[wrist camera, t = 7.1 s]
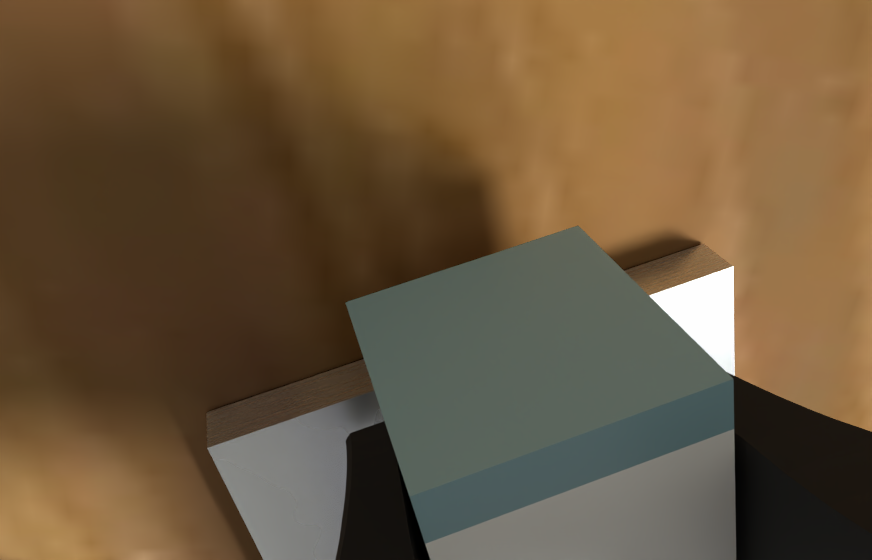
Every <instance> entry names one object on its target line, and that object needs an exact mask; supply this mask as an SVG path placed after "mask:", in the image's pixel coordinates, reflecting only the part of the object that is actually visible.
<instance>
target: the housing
mask: <svg viewBox="0 0 872 560" xmlns="http://www.w3.org/2000/svg"><path fill="white" fill-rule="evenodd" d="M625 272H626V273H627V274H628V275H629V276H630V277H631V278H632V279H633V280H634V281H635V282H636V283H637V284H638V285H639V286H640V287H641V288H642V289H643V290H644V291H645V292H646V293H647V294H648V295H649V296H650V297H651V298H652V299H653V300H654V301H655V302H656V303H657V304H658V305H659V306H660V307H661V308H662V309H663V310H664V311H665V312H666V313H667V314H668V315H669V316H670V317H671V318H672V319H673V320H674V321H675V322H676V323H677V324H678V325H679V326H680V327H681V328H682V329H683V330H684V331H685V332H686V333H687V334H688V335H689V336H690V337H692V338H693V339H694V340H695V341H696V342H697V343H698V344H699V345H700V346H701V347H702V348H703V349H704V350H705V351H706V352H707V353H708V354H709V355H710V356H711V357H712V358H713V359H714V360H715V361H716V362H717V363H718V364H719V365H720V366H721V367H722V368H723V369H724V370H725V371H726V372H728V373H730V374H732V375H734V376H735V362H734V293H733V266H732V265H730V264H729V263H728V262H726V261H725V260H724V259H723V258H721V257H720V256H719V255H717V254H716V253H715V252H714V251H712V250H711V249H710V248H709V247H707V246H706V245H705V244H701V245H698V246H695V247H692V248H689V249H687V250H684V251H681V252H678V253H675V254H672V255H669V256H666V257H663V258H660V259H657V260H654V261H651V262H648V263H645V264H642V265H639V266H636V267H633V268H631V269H628V270H625ZM206 413H207V449H208V451H209V453H210V455H211V457H212V459H213V461H214V463H215V465H216V467H217V469H218V471H219V473H220V474H221V476H222V478H223V480H224V482H225V484H226V486H227V488H228V490H229V492H230V494H231V496H232V498H233V500H234V502H235V504H236V506H237V508H238V510H239V512H240V514H241V516H242V518H243V520H244V522H245V524H246V526H247V528H248V530H249V532H250V534H251V536H252V538H253V540H254V542H255V544H256V546H257V548H258V550H259V552H260V554H261V556H262V558H263V560H335V559H336V554H337V549H338V544H339V538H340V531H341V524H342V516H343V509H344V501H345V490H346V476H347V450H346V439H347V437H348V436H349V434H350V433H352V432H355V431H357V430H360V429H363V428H366V427H369V426H372V425H375V424H377V423H380V422H383V421H384V418H383V415H382V412H381V409H380V406H379V403H378V400H377V397H376V394H375V391H374V388H373V385H372V382H371V379H370V376H369V373H368V370H367V367H366V364H365V361H364V359H362V360H360V361H357V362H354V363H351V364H348V365H345V366H342V367H339V368H336V369H333V370H330V371H327V372H324V373H321V374H318V375H315V376H312V377H309V378H306V379H304V380H301V381H298V382H295V383H292V384H289V385H286V386H283V387H280V388H277V389H274V390H271V391H268V392H265V393H262V394H259V395H256V396H253V397H251V398H248V399H245V400H242V401H239V402H236V403H233V404H230V405H227V406H224V407H221V408H218V409H215V410H212V411H209V412H206Z"/></svg>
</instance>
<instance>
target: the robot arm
mask: <svg viewBox="0 0 872 560" xmlns="http://www.w3.org/2000/svg"><path fill="white" fill-rule="evenodd" d="M727 373H728V372H727ZM728 374H729V375H730V376H731V377H732V378H733V381H734V444H735V508H736V560H872V432H870V431H867V430H865V429H862V428H859V427H856V426H853V425H850V424H847V423H844V422H841V421H838V420H836V419H833V418H830V417H828V416H825V415H822V414H820V413H817V412H815V411H812V410H810V409H807V408H805V407H803V406H800V405H798V404H795V403H793V402H791V401H788V400H786V399H784V398H781V397H779V396H776V395H774V394H772V393H770V392H768V391H765V390H763V389H761V388H759V387H757V386H755V385H752V384H750V383H748V382H746V381H744V380H742V379H740V378H738V377H736V376H734V375H732V374H730V373H728ZM346 450H347V476H346V490H345V501H344V509H343V516H342V524H341V531H340V538H339V544H338V549H337V554H336V559H335V560H430V557H429V554H428V551H427V548H426V545H425V542H424V539H423V536H422V533H421V530H420V527H419V524H418V521H417V518H416V515H415V512H414V509H413V506H412V503H411V500H410V497H409V494H408V491H407V488H406V485H405V482H404V479H403V476H402V473H401V470H400V467H399V464H398V461H397V457H396V454H395V451H394V448H393V445H392V442H391V439H390V436H389V433H388V430H387V427H386V424H385V421H383V422H380V423H377V424H375V425H372V426H369V427H366V428H363V429H360V430H357V431H355V432H352V433H350V434H349V436H348V437H347V439H346Z"/></svg>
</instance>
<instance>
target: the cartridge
mask: <svg viewBox="0 0 872 560" xmlns="http://www.w3.org/2000/svg"><path fill="white" fill-rule="evenodd" d="M345 303H346V306H347V309H348V312H349V315H350V318H351V321H352V324H353V327H354V330H355V333H356V336H357V339H358V342H359V345H360V348H361V352H362V355H363V358H364V361H365V364H366V367H367V370H368V373H369V376H370V379H371V382H372V385H373V388H374V391H375V394H376V397H377V400H378V403H379V406H380V409H381V412H382V415H383V418H384V421H385V424H386V427H387V430H388V433H389V436H390V439H391V442H392V445H393V448H394V451H395V454H396V457H397V461H398V464H399V467H400V470H401V473H402V476H403V479H404V482H405V485H406V488H407V491H408V494H409V497H410V500H411V503H412V506H413V509H414V512H415V515H416V518H417V521H418V524H419V527H420V530H421V533H422V536H423V539H424V542H425V545H426V548H427V551H428V554H429V557H430V560H736V508H735V444H734V381H733V378H732V377H731V376H730V375H729V374H728V373H727V372H726V371H725V370H724V369H723V368H722V367H721V366H720V365H719V364H718V363H717V362H716V361H715V360H714V359H713V358H712V357H711V356H710V355H709V354H708V353H707V352H706V351H705V350H704V349H703V348H702V347H701V346H700V345H699V344H698V343H697V342H696V341H695V340H694V339H693V338H692V337H690V336H689V335H688V334H687V333H686V332H685V331H684V330H683V329H682V328H681V327H680V326H679V325H678V324H677V323H676V322H675V321H674V320H673V319H672V318H671V317H670V316H669V315H668V314H667V313H666V312H665V311H664V310H663V309H662V308H661V307H660V306H659V305H658V304H657V303H656V302H655V301H654V300H653V299H652V298H651V297H650V296H649V295H648V294H647V293H646V292H645V291H644V290H643V289H642V288H641V287H640V286H639V285H638V284H637V283H636V282H635V281H634V280H633V279H632V278H631V277H630V276H629V275H628V274H627V273H626V272H625V271H624V270H623V269H622V268H621V267H620V266H619V265H618V264H617V263H616V262H614V261H613V260H612V259H611V258H610V257H609V256H608V255H607V254H606V253H605V252H604V251H603V250H602V249H601V248H600V247H599V246H598V245H597V244H596V243H595V242H594V241H593V240H592V239H591V238H590V237H589V236H588V235H587V234H586V233H585V232H584V231H583V230H582V229H581V228H580V227H579V226H575V227H572V228H569V229H566V230H563V231H560V232H557V233H554V234H551V235H548V236H545V237H542V238H539V239H536V240H533V241H530V242H527V243H524V244H521V245H518V246H515V247H512V248H509V249H506V250H503V251H500V252H497V253H493V254H490V255H487V256H484V257H481V258H478V259H475V260H472V261H469V262H466V263H463V264H460V265H457V266H454V267H451V268H448V269H445V270H442V271H439V272H436V273H433V274H430V275H427V276H424V277H421V278H418V279H415V280H412V281H409V282H406V283H402V284H399V285H396V286H393V287H390V288H387V289H384V290H381V291H378V292H375V293H372V294H369V295H366V296H363V297H360V298H357V299H354V300H351V301H348V302H345Z"/></svg>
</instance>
